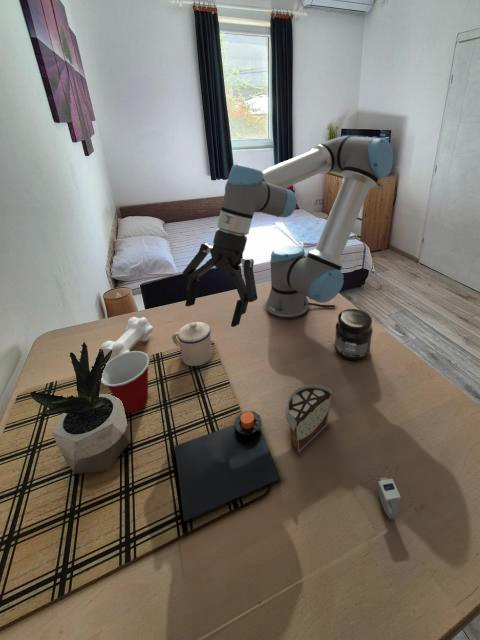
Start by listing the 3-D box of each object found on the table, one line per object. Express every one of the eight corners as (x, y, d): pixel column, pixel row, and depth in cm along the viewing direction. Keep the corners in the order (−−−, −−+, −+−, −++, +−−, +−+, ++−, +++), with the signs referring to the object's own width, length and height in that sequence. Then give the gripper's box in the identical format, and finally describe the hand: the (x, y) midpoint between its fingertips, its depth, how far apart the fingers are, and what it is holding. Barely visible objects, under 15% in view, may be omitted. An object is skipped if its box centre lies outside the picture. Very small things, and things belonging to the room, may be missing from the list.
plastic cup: (110, 394, 82) (99, 357, 77) (156, 381, 86) (148, 345, 81) (107, 429, 73) (95, 389, 68) (158, 413, 77) (150, 374, 72)
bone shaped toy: (128, 371, 89) (122, 348, 86) (100, 368, 91) (93, 344, 87) (157, 338, 103) (152, 316, 100) (132, 335, 104) (127, 313, 101)
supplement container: (358, 337, 104) (361, 305, 99) (376, 358, 94) (381, 324, 90) (328, 343, 100) (330, 311, 96) (344, 366, 91) (347, 332, 87)
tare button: (252, 415, 73) (251, 409, 73) (256, 426, 71) (256, 420, 70) (239, 420, 72) (238, 414, 72) (243, 431, 70) (242, 425, 69)
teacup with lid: (218, 349, 98) (215, 316, 93) (203, 370, 90) (199, 335, 85) (183, 342, 101) (178, 310, 96) (166, 362, 93) (159, 328, 88)
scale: (256, 416, 76) (256, 407, 75) (282, 481, 63) (282, 471, 62) (174, 446, 70) (172, 436, 68) (184, 525, 56) (182, 514, 55)
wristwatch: (401, 523, 56) (405, 506, 54) (386, 527, 56) (390, 509, 54) (385, 486, 62) (389, 469, 60) (372, 489, 62) (375, 472, 60)
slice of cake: (311, 405, 79) (312, 374, 75) (331, 421, 75) (333, 389, 71) (273, 438, 71) (273, 404, 67) (293, 457, 67) (294, 423, 63)
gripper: (180, 217, 77) (161, 299, 80) (272, 248, 69) (247, 338, 72) (199, 218, 84) (182, 294, 87) (285, 247, 76) (262, 329, 79)
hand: (211, 315), depth 80 cm, fingers open, 13 cm apart
